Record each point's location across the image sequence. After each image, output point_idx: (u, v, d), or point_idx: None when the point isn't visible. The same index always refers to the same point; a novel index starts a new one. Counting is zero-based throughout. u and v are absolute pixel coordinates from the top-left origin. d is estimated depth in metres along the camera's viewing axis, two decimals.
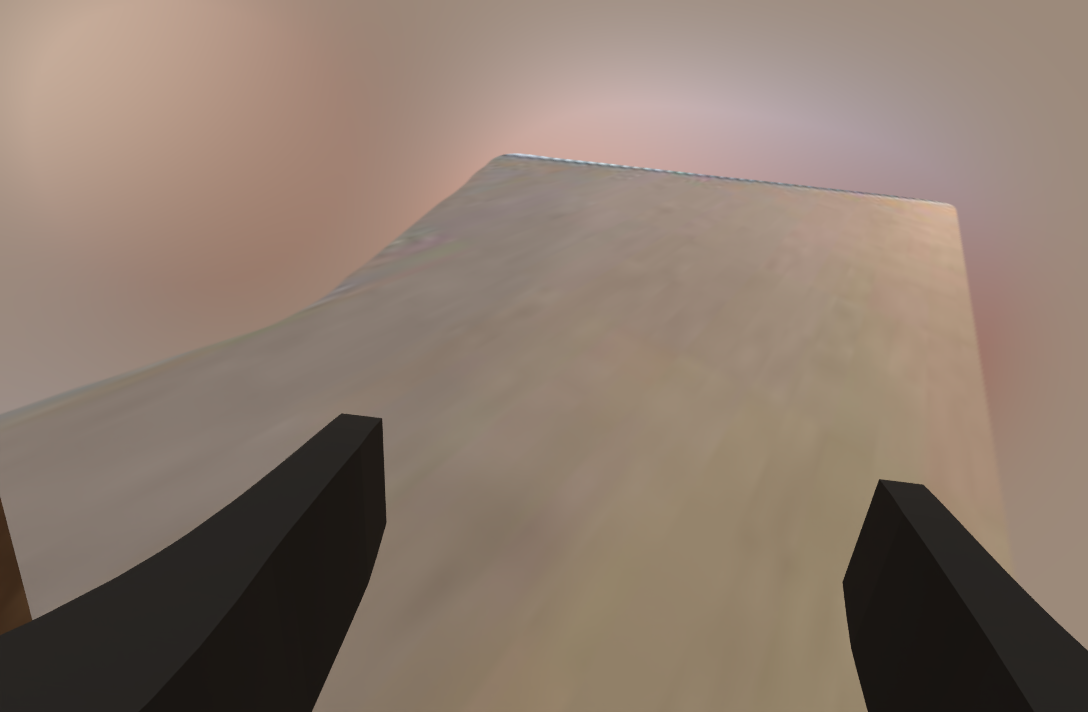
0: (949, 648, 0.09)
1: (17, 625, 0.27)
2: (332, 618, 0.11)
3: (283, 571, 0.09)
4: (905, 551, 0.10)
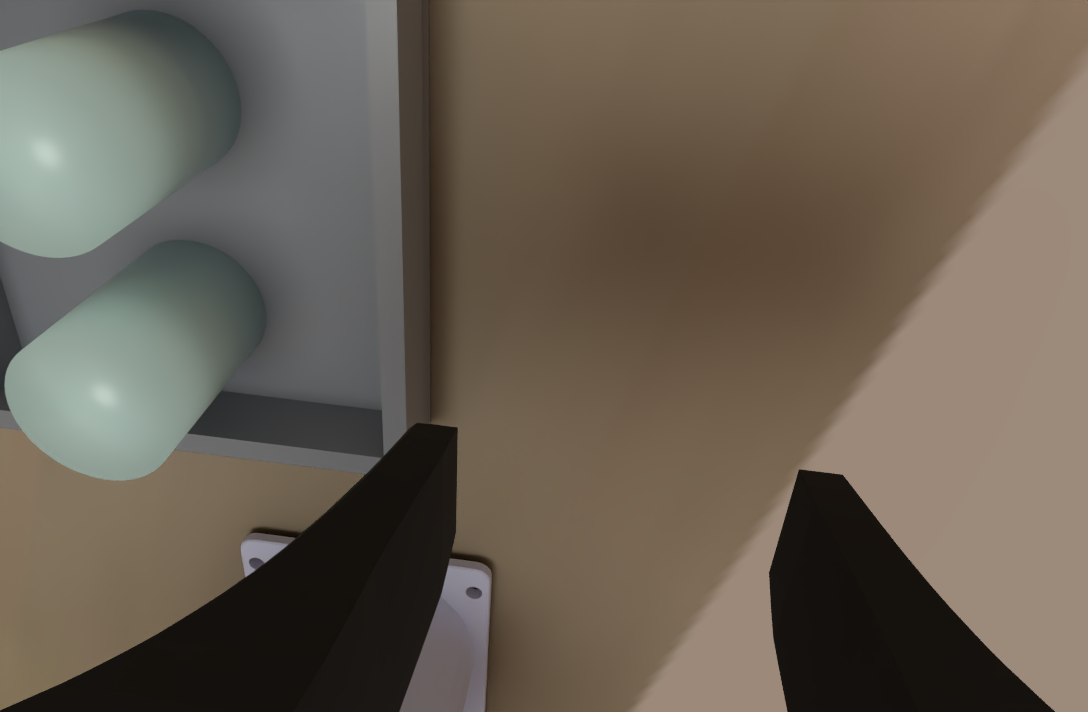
0: (849, 635, 0.09)
1: None
2: (414, 629, 0.11)
3: (381, 585, 0.09)
4: (816, 540, 0.11)
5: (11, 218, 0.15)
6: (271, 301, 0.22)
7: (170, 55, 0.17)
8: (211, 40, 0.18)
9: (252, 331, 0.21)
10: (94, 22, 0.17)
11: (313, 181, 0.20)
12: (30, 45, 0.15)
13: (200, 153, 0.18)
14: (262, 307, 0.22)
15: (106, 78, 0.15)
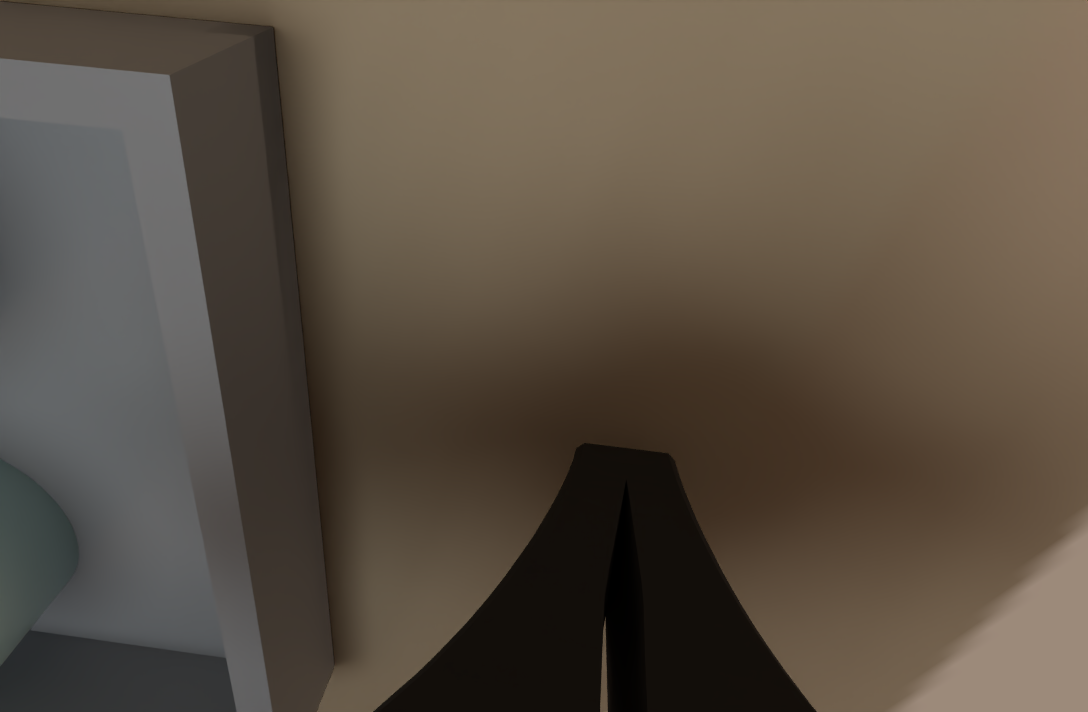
0: (632, 606, 0.09)
1: None
2: None
3: None
4: (625, 515, 0.11)
5: None
6: (82, 524, 0.14)
7: None
8: None
9: (46, 577, 0.14)
10: None
11: (120, 369, 0.13)
12: None
13: None
14: (67, 533, 0.14)
15: None
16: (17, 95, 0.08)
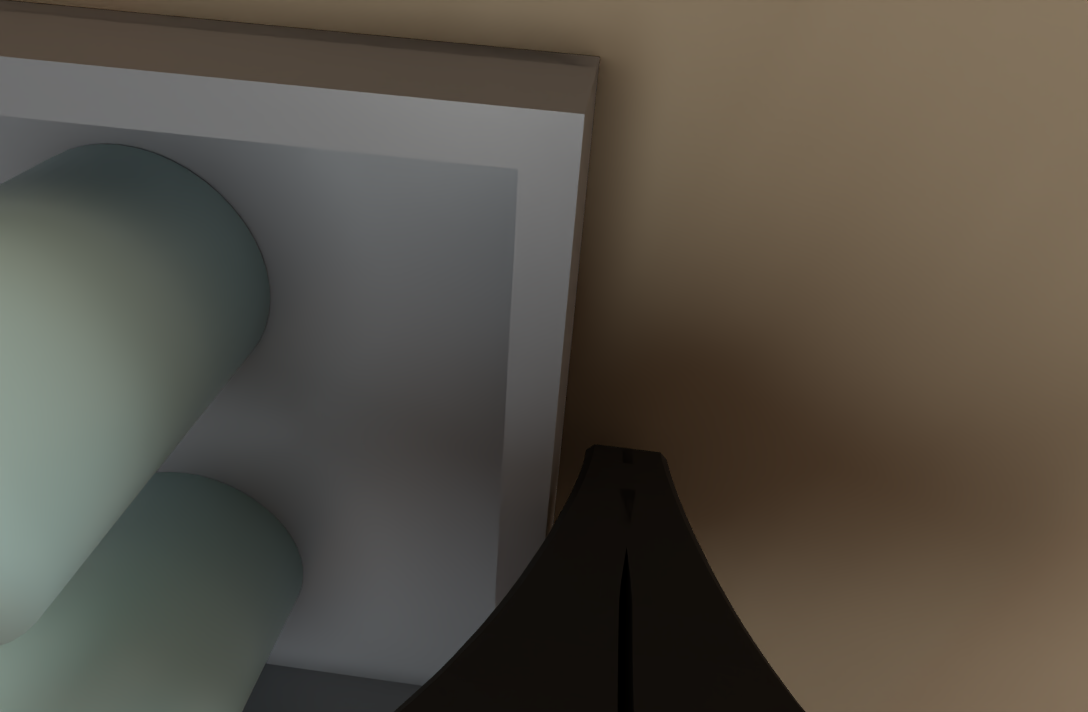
0: (622, 604, 0.09)
1: None
2: None
3: None
4: None
5: None
6: (311, 554, 0.14)
7: (151, 244, 0.09)
8: (223, 192, 0.11)
9: (283, 611, 0.14)
10: (16, 183, 0.10)
11: (384, 400, 0.12)
12: None
13: (204, 399, 0.10)
14: (298, 565, 0.14)
15: (18, 339, 0.08)
16: (414, 133, 0.08)
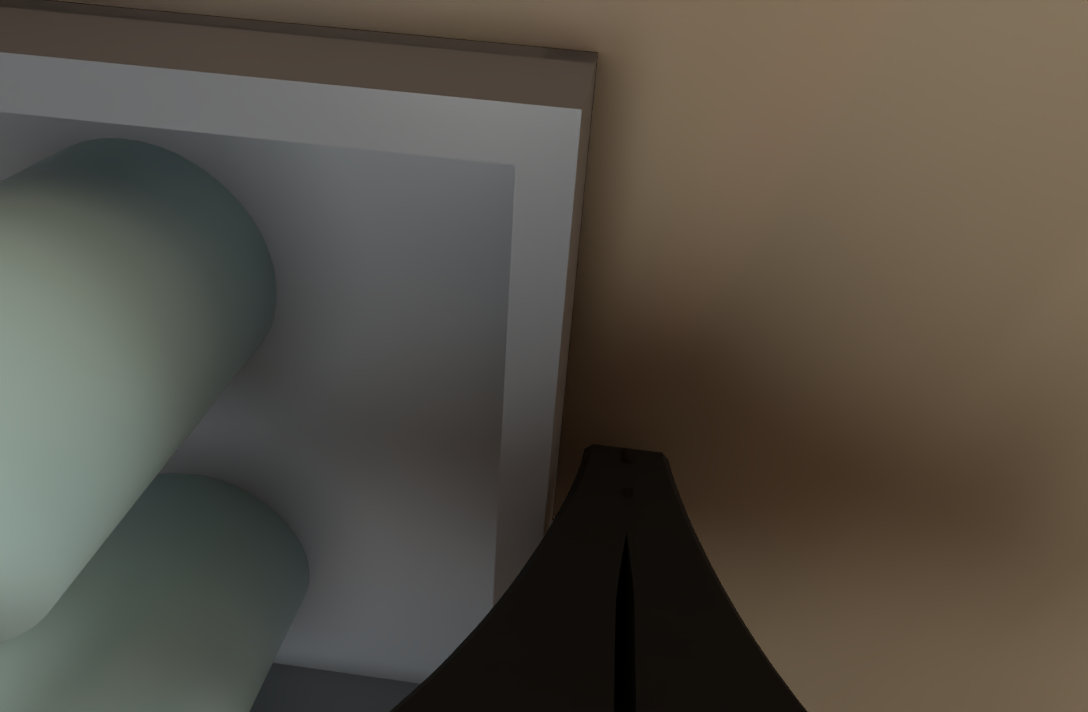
0: (624, 605, 0.09)
1: None
2: None
3: None
4: None
5: None
6: (309, 552, 0.14)
7: (160, 237, 0.09)
8: None
9: (290, 612, 0.14)
10: (24, 176, 0.10)
11: (382, 397, 0.12)
12: None
13: (211, 393, 0.10)
14: (303, 566, 0.14)
15: (31, 329, 0.08)
16: (410, 129, 0.08)
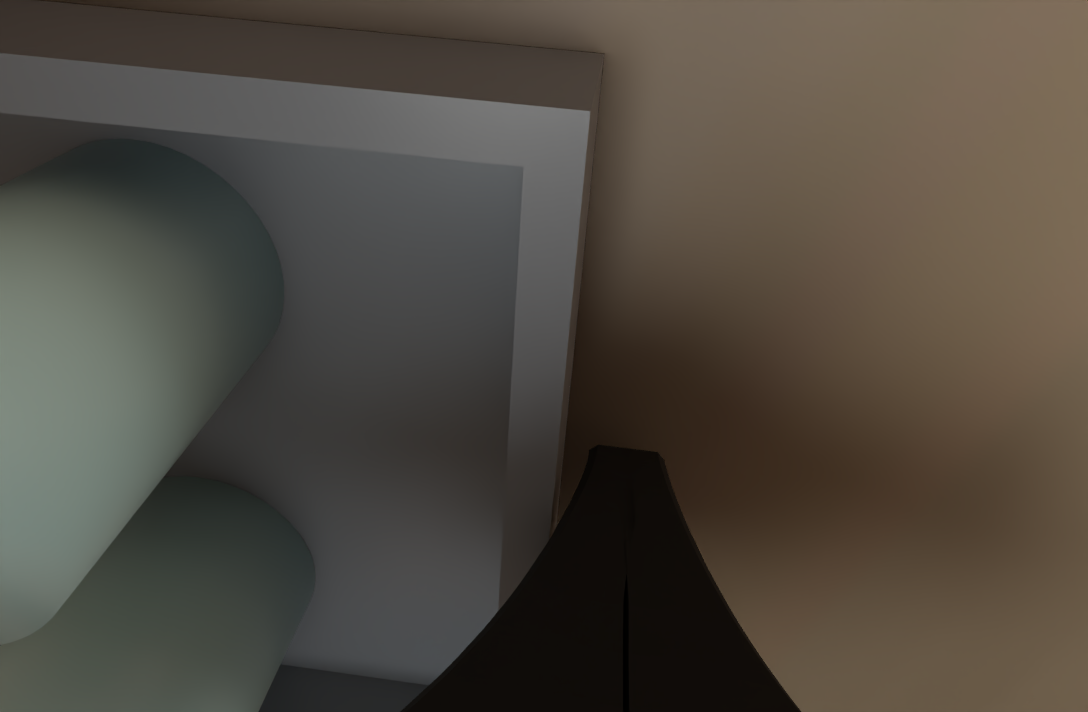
0: None
1: None
2: None
3: None
4: None
5: None
6: (313, 553, 0.14)
7: (168, 237, 0.09)
8: None
9: (297, 614, 0.14)
10: (32, 176, 0.10)
11: (387, 398, 0.12)
12: None
13: (219, 394, 0.10)
14: (309, 568, 0.14)
15: (38, 330, 0.07)
16: (418, 131, 0.08)
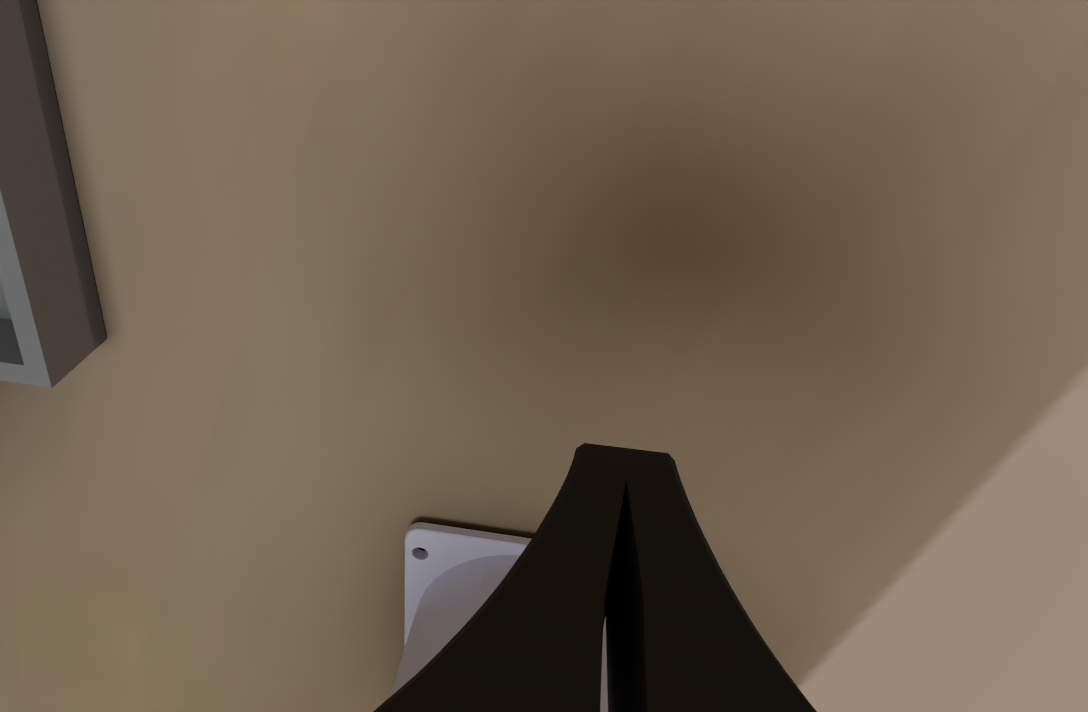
0: (632, 606, 0.09)
1: None
2: None
3: None
4: (625, 515, 0.11)
5: None
6: None
7: None
8: None
9: None
10: None
11: None
12: None
13: None
14: None
15: None
16: None
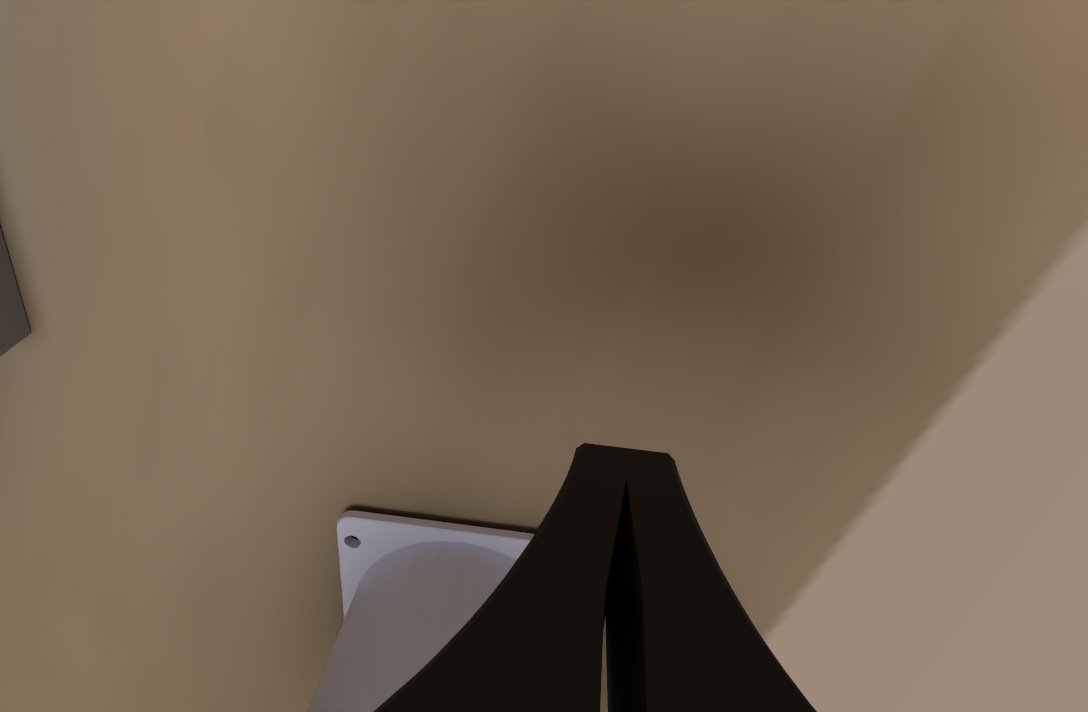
0: (632, 606, 0.09)
1: None
2: None
3: None
4: (625, 516, 0.11)
5: None
6: None
7: None
8: None
9: None
10: None
11: None
12: None
13: None
14: None
15: None
16: None
